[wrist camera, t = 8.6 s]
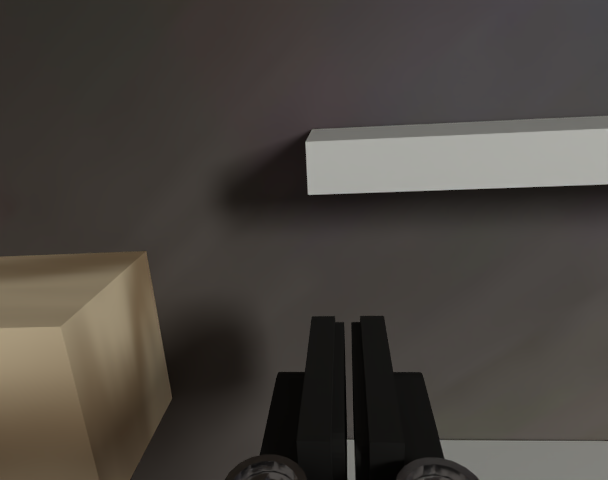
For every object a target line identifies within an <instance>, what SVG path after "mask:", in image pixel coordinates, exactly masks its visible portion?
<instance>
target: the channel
mask: <svg viewBox="0 0 608 480" xmlns="http://www.w3.org/2000/svg"><path fill="white" fill-rule="evenodd" d="M305 144H306V165H307V185H308V195H321V194H349V193H377V192H405V191H434V190H462V189H490V188H519V187H547V186H575V185H603V184H608V116H590V117H568V118H547V119H525V120H503V121H482V122H460V123H439V124H417V125H395V126H374V127H352V128H331V129H312V130H311V132H310V134H309V136H308V138H307V140H306V142H305ZM440 443H441V447H442V451H443V455H444V458H445V459H447V460H451V461H454V462H456V463H458V464H460V465H462V466H464V467H466V468H467V469H468V470H470V471H471V472H472V473H473V474H474V475H476V476H477V477H478V479H479V480H608V441H518V440H440ZM347 480H355V454H354V440H347Z"/></svg>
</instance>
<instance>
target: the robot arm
mask: <svg viewBox="0 0 608 480" xmlns="http://www.w3.org/2000/svg"><path fill="white" fill-rule="evenodd" d="M351 325H352V373H353V420H354V454H355V480H479V479H478V477H477V476H476V475H474V474H473V473H472V472H471V471H470V470H468V469H467V468H466V467H464V466H462V465H460V464H458V463H456V462H454V461H451V460H447V459H445V458H444V455H443V451H442V447H441V443H440V439H439V436H438V432H437V428H436V424H435V420H434V416H433V413H432V409H431V405H430V401H429V397H428V393H427V390H426V386H425V382H424V378H423V375H422V373H421V372H393V369H392V363H391V357H390V350H389V344H388V338H387V332H386V326H385V320H384V316H360V322H351ZM225 480H347V412H346V375H345V338H344V322H335V316H319V317H312V320H311V328H310V336H309V344H308V352H307V360H306V368H305V372H279V373H278V374H277V378H276V382H275V387H274V391H273V396H272V401H271V405H270V410H269V415H268V419H267V424H266V429H265V433H264V438H263V443H262V447H261V452H260V456H255V457H251V458H249V459H247V460H245V461H243V462H241V463H239V464H238V465H237V466H236V467H235V468H234V469H232V470H231V471H230V473H229V474H228V475H227V477H226V478H225Z"/></svg>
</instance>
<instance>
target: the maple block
mask: <svg viewBox="0 0 608 480" xmlns="http://www.w3.org/2000/svg"><path fill="white" fill-rule="evenodd" d="M171 400H172V394H171V388H170V383H169V377H168V371H167V366H166V360H165V355H164V349H163V343H162V338H161V332H160V326H159V321H158V315H157V310H156V304H155V298H154V293H153V287H152V281H151V276H150V270H149V265H148V259H147V253H146V251H137V252H110V253H84V254H58V255H32V256H6V257H0V480H130V479H131V477H132V475H133V473H134V471H135V469H136V467H137V465H138V463H139V462H140V460H141V458H142V456H143V454H144V452H145V450H146V448H147V446H148V444H149V442H150V440H151V438H152V437H153V435H154V433H155V431H156V429H157V427H158V425H159V423H160V421H161V419H162V417H163V415H164V413H165V411H166V410H167V408H168V406H169V404H170V402H171Z"/></svg>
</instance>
